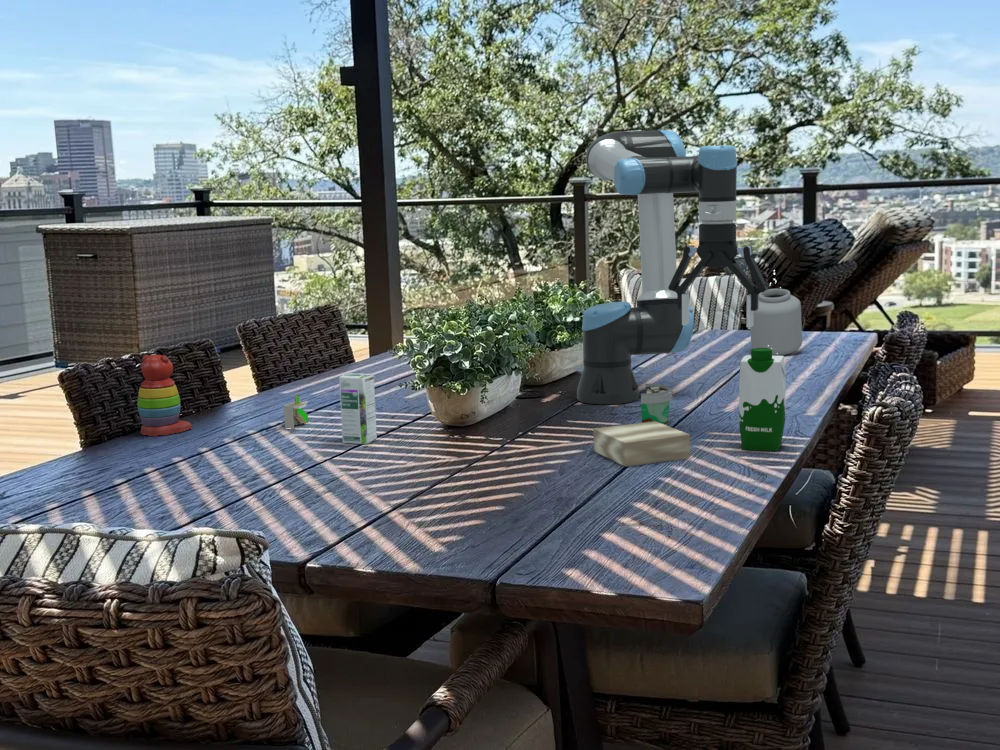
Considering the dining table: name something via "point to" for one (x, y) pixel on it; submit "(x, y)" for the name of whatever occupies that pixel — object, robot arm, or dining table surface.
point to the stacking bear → (159, 398)
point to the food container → (656, 403)
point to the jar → (777, 322)
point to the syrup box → (357, 408)
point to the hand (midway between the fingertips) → (717, 325)
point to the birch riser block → (641, 443)
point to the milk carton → (762, 400)
